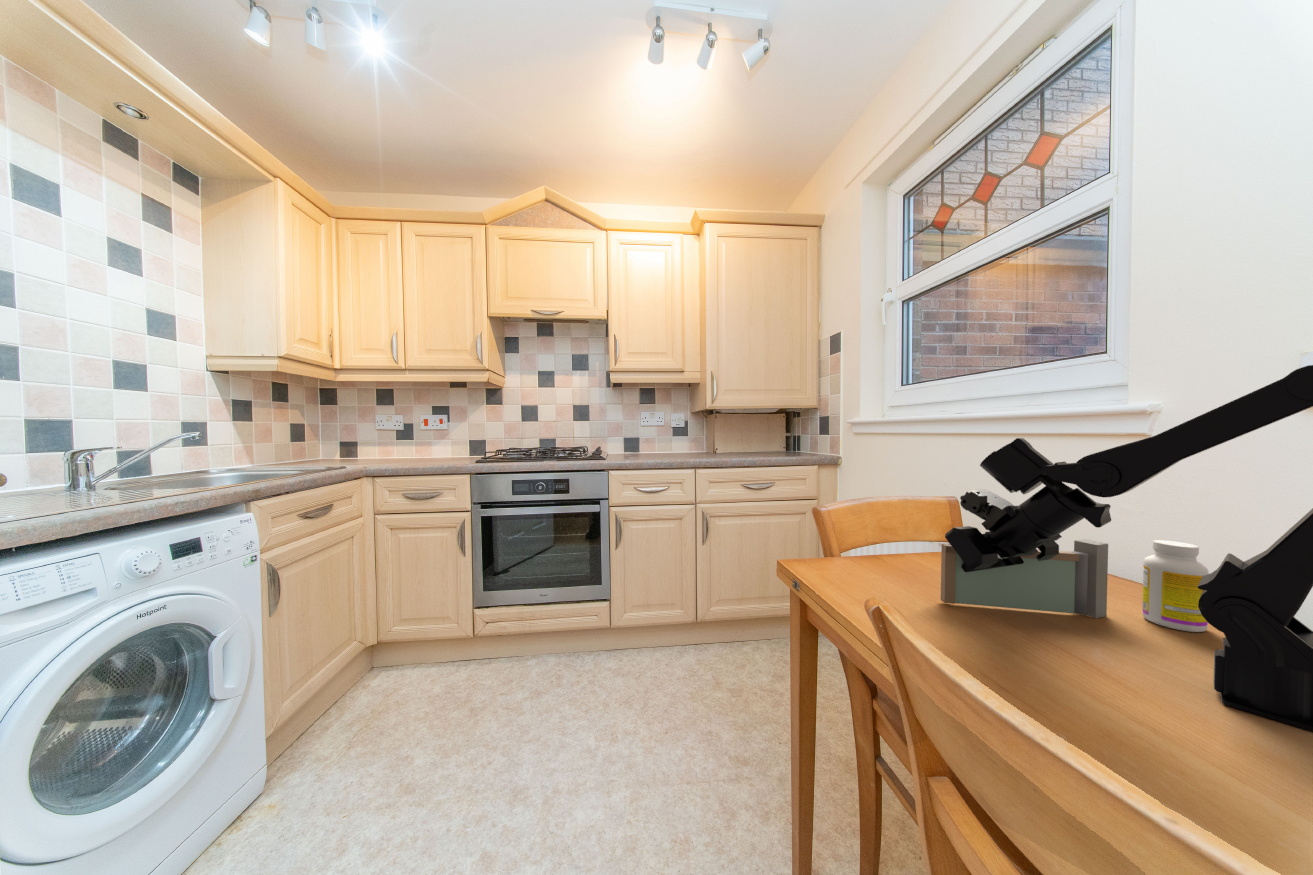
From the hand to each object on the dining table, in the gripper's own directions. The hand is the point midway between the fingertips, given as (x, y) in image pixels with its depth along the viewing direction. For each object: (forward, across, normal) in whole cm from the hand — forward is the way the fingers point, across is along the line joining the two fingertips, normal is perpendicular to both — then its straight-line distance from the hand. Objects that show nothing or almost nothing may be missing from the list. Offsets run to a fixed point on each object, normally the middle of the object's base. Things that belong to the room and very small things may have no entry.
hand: (964, 569), depth 74 cm
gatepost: (-1, -18, +10) cm, 21 cm away
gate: (+2, -7, +7) cm, 10 cm away
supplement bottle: (-6, -26, +15) cm, 31 cm away
